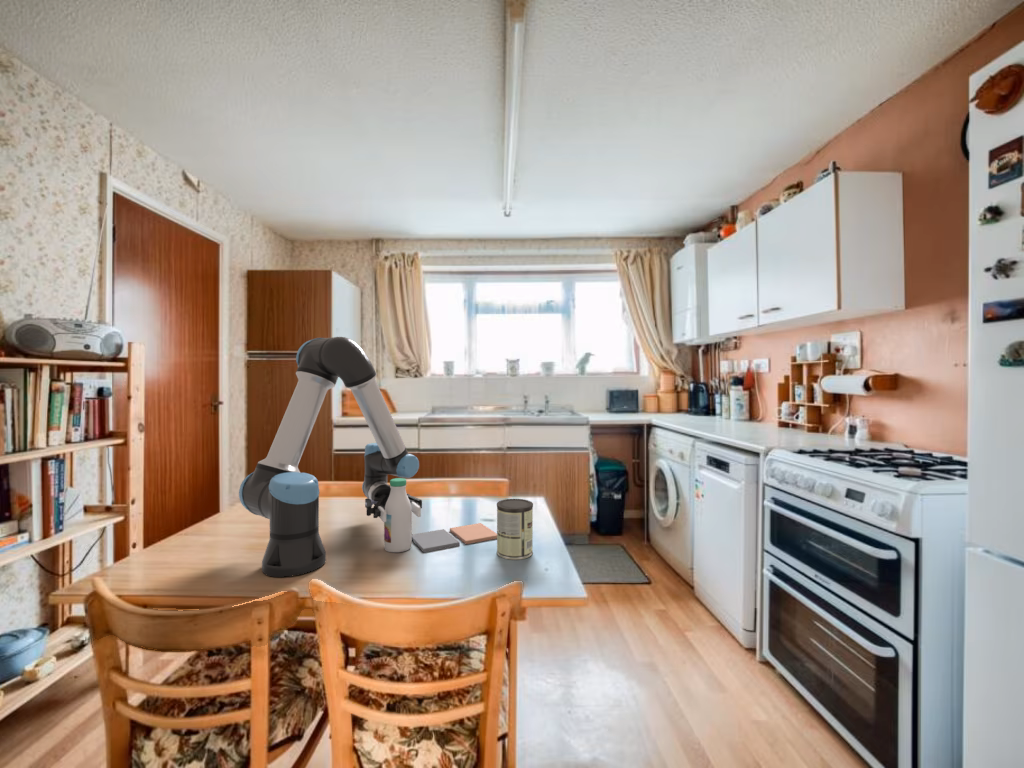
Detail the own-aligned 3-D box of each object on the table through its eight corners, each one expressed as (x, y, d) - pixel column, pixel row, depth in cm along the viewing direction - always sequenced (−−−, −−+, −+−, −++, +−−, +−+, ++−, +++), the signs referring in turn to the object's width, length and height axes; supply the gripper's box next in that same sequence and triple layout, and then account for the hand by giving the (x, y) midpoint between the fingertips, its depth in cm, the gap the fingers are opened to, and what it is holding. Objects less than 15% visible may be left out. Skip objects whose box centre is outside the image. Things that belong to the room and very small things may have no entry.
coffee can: (498, 545, 135) (499, 497, 135) (533, 546, 134) (534, 499, 134) (494, 559, 125) (494, 507, 125) (531, 561, 124) (532, 509, 124)
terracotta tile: (465, 544, 136) (465, 540, 136) (449, 531, 147) (449, 528, 147) (498, 538, 141) (498, 534, 141) (480, 525, 153) (480, 522, 153)
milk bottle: (413, 543, 137) (414, 476, 136) (408, 553, 129) (409, 482, 129) (387, 543, 136) (387, 476, 136) (381, 553, 129) (381, 482, 128)
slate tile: (423, 552, 130) (423, 548, 130) (410, 537, 141) (410, 534, 141) (459, 545, 135) (459, 542, 135) (443, 532, 146) (443, 529, 146)
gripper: (415, 503, 154) (439, 522, 134) (347, 512, 143) (362, 534, 123) (415, 480, 153) (439, 496, 134) (347, 488, 143) (362, 506, 123)
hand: (402, 514), depth 129 cm, fingers open, 9 cm apart
